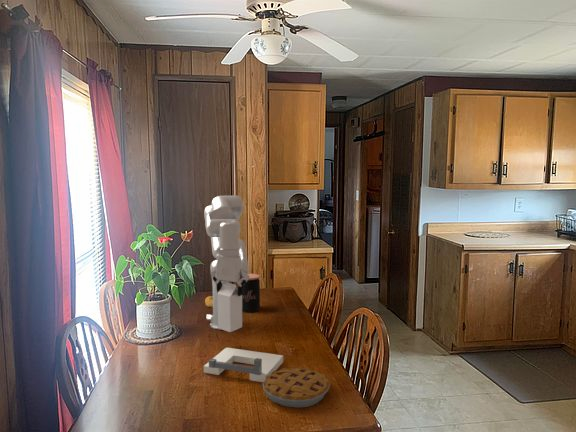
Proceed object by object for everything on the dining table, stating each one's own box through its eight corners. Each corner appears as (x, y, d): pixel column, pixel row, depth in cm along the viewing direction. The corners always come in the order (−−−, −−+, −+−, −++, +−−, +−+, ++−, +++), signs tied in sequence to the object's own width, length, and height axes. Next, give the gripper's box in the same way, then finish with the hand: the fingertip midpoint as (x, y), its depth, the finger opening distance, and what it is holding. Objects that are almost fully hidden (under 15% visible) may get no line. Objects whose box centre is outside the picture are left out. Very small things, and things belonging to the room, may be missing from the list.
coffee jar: (236, 311, 232) (235, 277, 230) (244, 305, 242) (243, 273, 241) (255, 313, 229) (255, 279, 227) (262, 307, 239) (262, 274, 237)
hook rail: (208, 367, 161) (208, 353, 161) (211, 364, 163) (211, 351, 163) (259, 375, 155) (259, 361, 155) (261, 372, 157) (261, 358, 156)
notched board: (203, 372, 163) (203, 365, 162) (226, 353, 179) (226, 347, 179) (265, 382, 155) (265, 375, 155) (283, 361, 172) (283, 355, 172)
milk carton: (230, 332, 181) (229, 286, 178) (217, 328, 185) (217, 283, 183) (242, 327, 186) (242, 282, 184) (230, 323, 191) (229, 279, 188)
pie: (315, 417, 134) (315, 401, 133) (250, 401, 143) (250, 386, 142) (338, 385, 153) (338, 371, 153) (280, 373, 163) (280, 360, 162)
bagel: (207, 309, 236) (207, 300, 236) (203, 304, 246) (203, 295, 246) (226, 307, 240) (226, 298, 240) (220, 302, 250) (220, 293, 250)
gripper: (205, 252, 181) (206, 294, 183) (245, 256, 175) (245, 299, 177) (214, 249, 188) (215, 289, 190) (253, 252, 182) (253, 293, 185)
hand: (229, 294), depth 184 cm, fingers closed on milk carton, 8 cm apart
